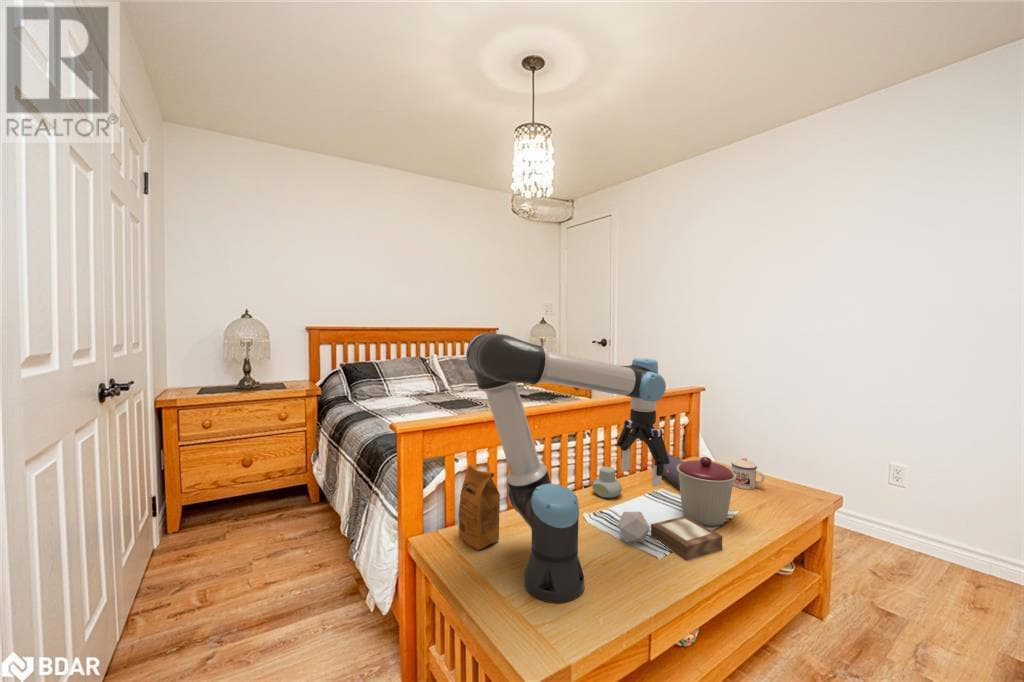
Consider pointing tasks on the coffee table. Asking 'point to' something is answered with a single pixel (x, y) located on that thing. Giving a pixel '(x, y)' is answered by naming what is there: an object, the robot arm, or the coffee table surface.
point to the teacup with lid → (745, 474)
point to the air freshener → (607, 483)
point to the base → (686, 537)
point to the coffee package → (479, 509)
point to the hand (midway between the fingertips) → (640, 477)
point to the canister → (705, 490)
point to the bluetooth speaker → (672, 470)
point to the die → (633, 526)
